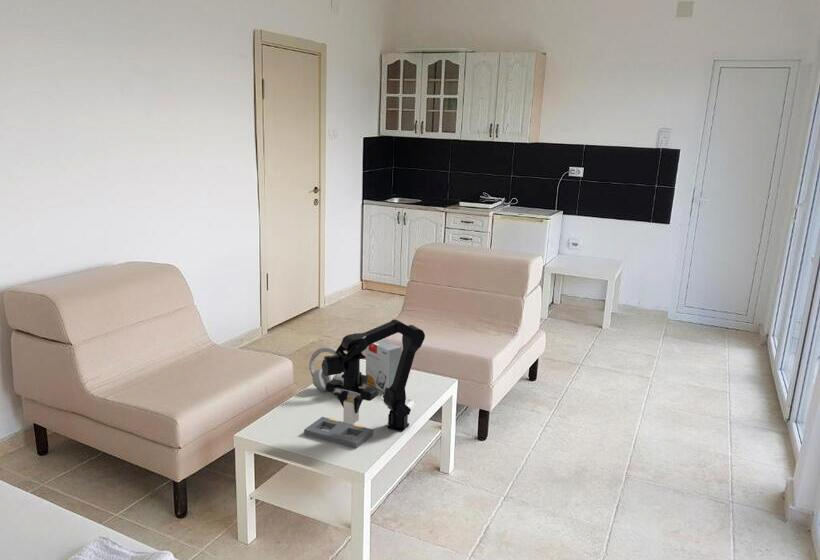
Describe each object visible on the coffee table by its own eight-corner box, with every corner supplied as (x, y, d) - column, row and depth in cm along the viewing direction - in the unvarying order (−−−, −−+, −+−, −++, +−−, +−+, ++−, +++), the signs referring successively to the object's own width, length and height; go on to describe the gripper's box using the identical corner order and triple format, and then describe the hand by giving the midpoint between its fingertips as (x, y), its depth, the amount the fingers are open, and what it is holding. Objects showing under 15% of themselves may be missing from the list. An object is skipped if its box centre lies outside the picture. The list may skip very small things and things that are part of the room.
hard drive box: (364, 383, 283) (365, 340, 278) (378, 379, 288) (379, 336, 283) (387, 394, 272) (388, 349, 267) (401, 390, 277) (402, 346, 272)
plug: (358, 419, 233) (358, 397, 231) (353, 424, 229) (353, 401, 227) (349, 417, 234) (349, 395, 232) (343, 421, 231) (343, 399, 229)
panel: (372, 434, 236) (372, 428, 236) (356, 448, 226) (356, 442, 225) (322, 421, 246) (322, 416, 245) (304, 434, 235) (304, 428, 234)
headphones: (305, 391, 273) (304, 346, 268) (315, 384, 280) (315, 341, 275) (344, 399, 265) (344, 354, 261) (354, 392, 273) (354, 348, 268)
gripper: (385, 368, 230) (384, 408, 234) (340, 359, 238) (340, 398, 242) (370, 378, 221) (369, 420, 224) (324, 369, 228) (324, 409, 232)
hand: (351, 411), depth 231 cm, fingers closed on plug, 4 cm apart
